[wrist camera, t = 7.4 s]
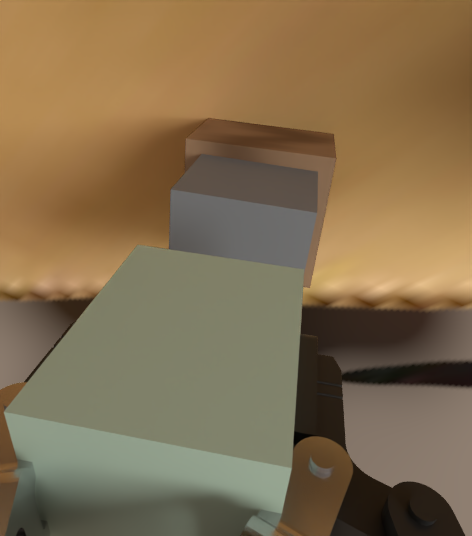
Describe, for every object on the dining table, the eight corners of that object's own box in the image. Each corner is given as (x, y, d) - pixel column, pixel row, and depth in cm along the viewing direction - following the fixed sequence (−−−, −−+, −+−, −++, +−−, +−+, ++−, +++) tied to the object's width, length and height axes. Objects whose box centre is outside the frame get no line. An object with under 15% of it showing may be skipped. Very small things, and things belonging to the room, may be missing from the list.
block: (304, 269, 13) (291, 468, 7) (281, 393, 15) (259, 611, 10) (137, 244, 13) (3, 411, 8) (142, 368, 16) (45, 561, 10)
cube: (318, 171, 20) (317, 212, 16) (297, 273, 23) (291, 331, 19) (201, 154, 21) (170, 189, 16) (195, 255, 23) (167, 307, 19)
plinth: (333, 133, 24) (336, 158, 20) (311, 246, 28) (309, 287, 23) (209, 117, 25) (185, 138, 20) (203, 229, 28) (182, 267, 24)
